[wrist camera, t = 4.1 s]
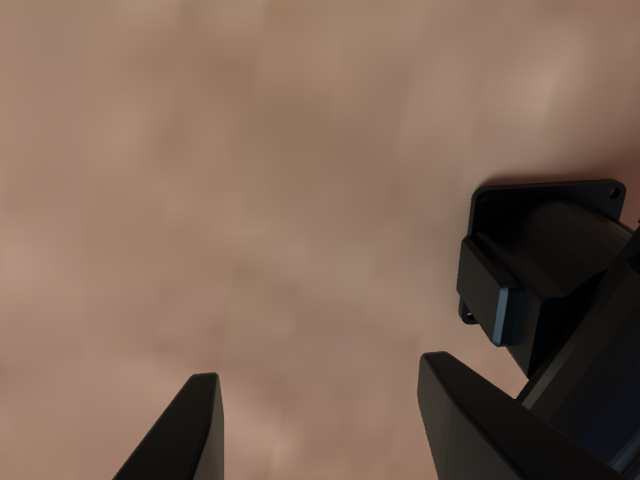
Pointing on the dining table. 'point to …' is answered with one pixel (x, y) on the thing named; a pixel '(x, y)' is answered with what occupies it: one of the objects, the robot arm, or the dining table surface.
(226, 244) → the dining table surface
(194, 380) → the robot arm
